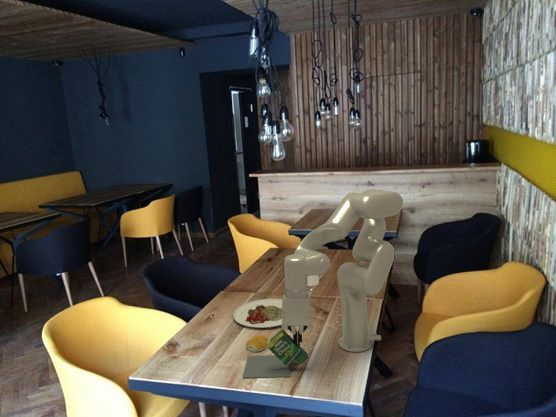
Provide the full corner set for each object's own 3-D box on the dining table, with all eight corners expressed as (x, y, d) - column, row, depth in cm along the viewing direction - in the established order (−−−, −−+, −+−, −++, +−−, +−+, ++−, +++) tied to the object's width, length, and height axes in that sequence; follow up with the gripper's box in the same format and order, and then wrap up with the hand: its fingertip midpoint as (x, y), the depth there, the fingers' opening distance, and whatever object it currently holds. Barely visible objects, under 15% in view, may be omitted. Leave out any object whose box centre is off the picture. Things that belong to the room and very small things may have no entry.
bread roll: (273, 344, 171) (272, 334, 170) (259, 354, 164) (258, 344, 163) (256, 339, 176) (256, 330, 175) (242, 349, 169) (241, 339, 168)
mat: (291, 355, 161) (291, 354, 161) (290, 377, 147) (290, 376, 147) (247, 356, 162) (247, 355, 162) (242, 378, 149) (242, 377, 148)
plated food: (306, 303, 207) (306, 297, 207) (291, 333, 179) (291, 325, 178) (246, 300, 216) (246, 294, 215) (222, 328, 187) (222, 321, 187)
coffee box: (290, 372, 151) (264, 346, 149) (290, 367, 154) (265, 341, 152) (308, 358, 149) (282, 332, 147) (308, 353, 152) (282, 327, 150)
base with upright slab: (319, 279, 237) (318, 258, 235) (319, 285, 228) (318, 263, 226) (302, 280, 238) (301, 258, 236) (301, 286, 229) (300, 264, 227)
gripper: (318, 287, 150) (319, 338, 153) (274, 288, 151) (276, 339, 153) (319, 295, 142) (320, 349, 145) (273, 296, 143) (275, 349, 146)
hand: (297, 343), depth 149 cm, fingers closed
